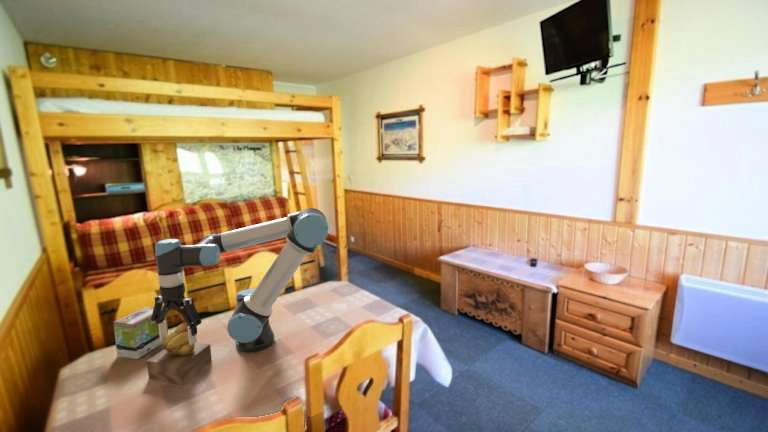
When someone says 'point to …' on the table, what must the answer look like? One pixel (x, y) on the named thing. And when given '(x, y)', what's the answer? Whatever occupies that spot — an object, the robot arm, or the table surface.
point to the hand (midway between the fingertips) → (178, 341)
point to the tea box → (136, 334)
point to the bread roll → (178, 341)
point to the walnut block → (179, 364)
